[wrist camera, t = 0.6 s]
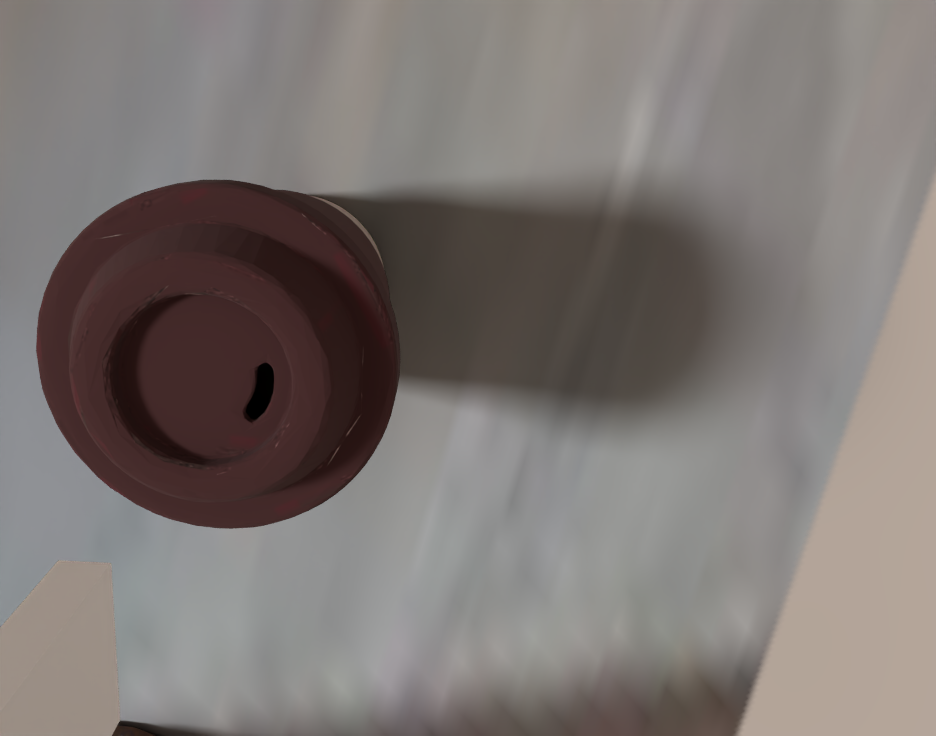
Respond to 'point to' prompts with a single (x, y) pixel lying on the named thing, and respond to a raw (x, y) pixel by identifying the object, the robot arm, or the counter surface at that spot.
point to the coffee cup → (221, 351)
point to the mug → (129, 731)
